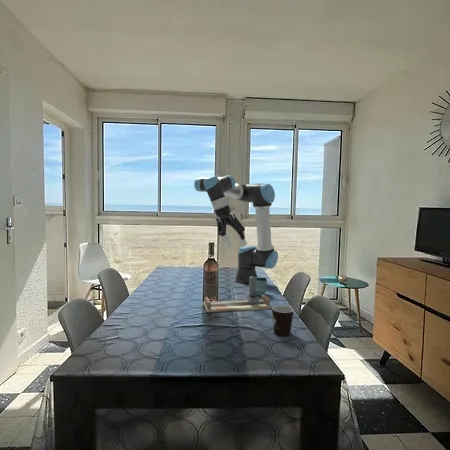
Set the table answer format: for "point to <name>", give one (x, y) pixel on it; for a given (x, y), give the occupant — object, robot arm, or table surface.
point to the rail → (237, 305)
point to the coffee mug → (282, 320)
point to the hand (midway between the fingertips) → (236, 246)
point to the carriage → (252, 290)
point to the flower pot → (261, 285)
